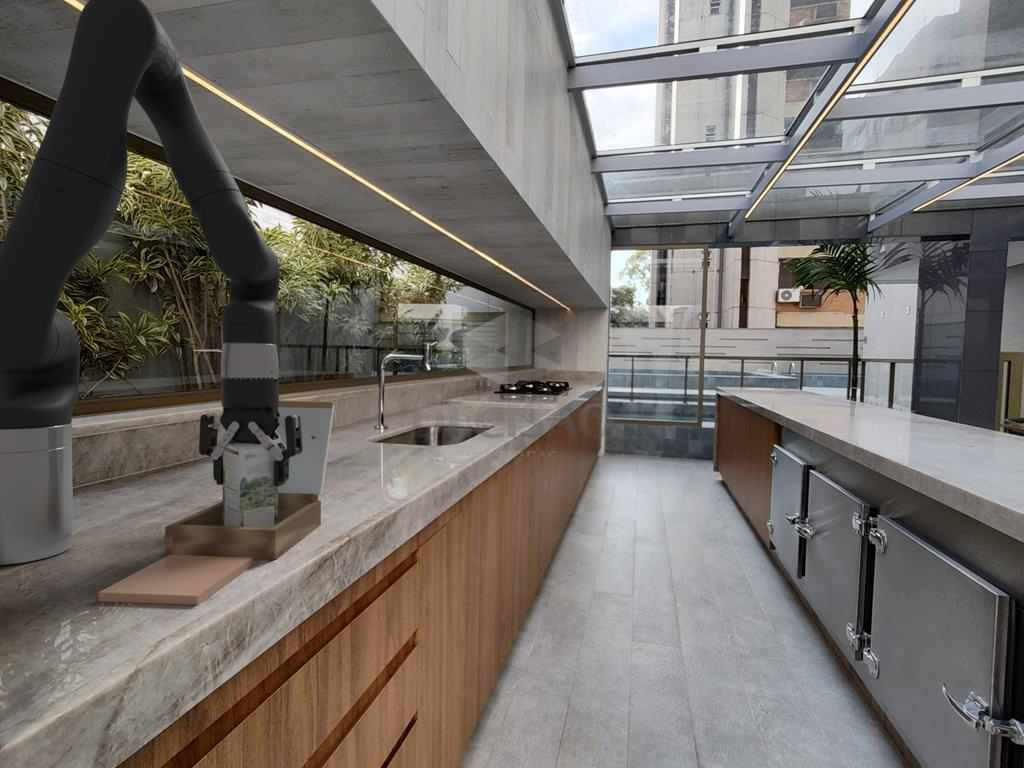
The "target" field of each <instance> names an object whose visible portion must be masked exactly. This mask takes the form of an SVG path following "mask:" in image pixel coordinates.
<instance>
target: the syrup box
mask: <svg viewBox="0 0 1024 768" xmlns="http://www.w3.org/2000/svg"><path fill="white" fill-rule="evenodd" d="M278 447H279V445H278ZM274 461H276V459H275V457H274V456H273V455H272V453H271V452H270V451H269V450H267V449H266V448H265V447H264V446H263V444H262V443H261V444H249V443H236V442H233V443H229V444H228V445H227V447H226V449H225V451H224V453H223V485H222V501H223V510H222V526H234V527H265V528H272V527H274V526H275V525H277V524H278V486H275V485H274Z"/></svg>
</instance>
